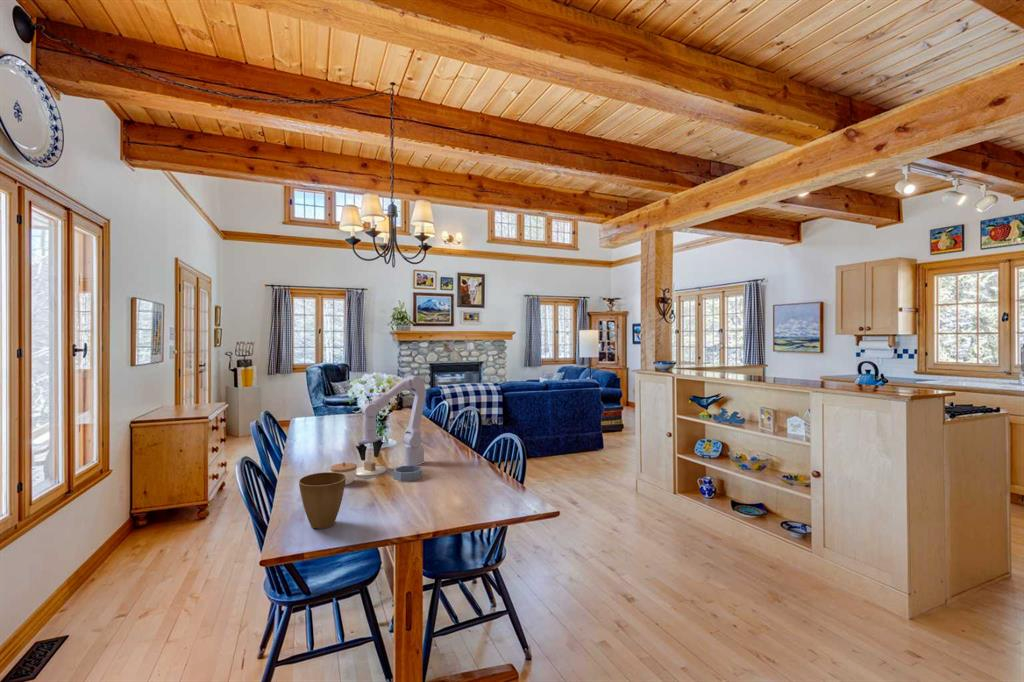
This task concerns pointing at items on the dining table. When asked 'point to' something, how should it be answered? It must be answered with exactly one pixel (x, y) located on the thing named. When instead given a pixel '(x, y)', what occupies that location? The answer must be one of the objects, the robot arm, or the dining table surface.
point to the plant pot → (322, 497)
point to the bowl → (407, 473)
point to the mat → (378, 474)
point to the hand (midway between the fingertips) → (369, 458)
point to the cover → (370, 469)
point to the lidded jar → (346, 471)
